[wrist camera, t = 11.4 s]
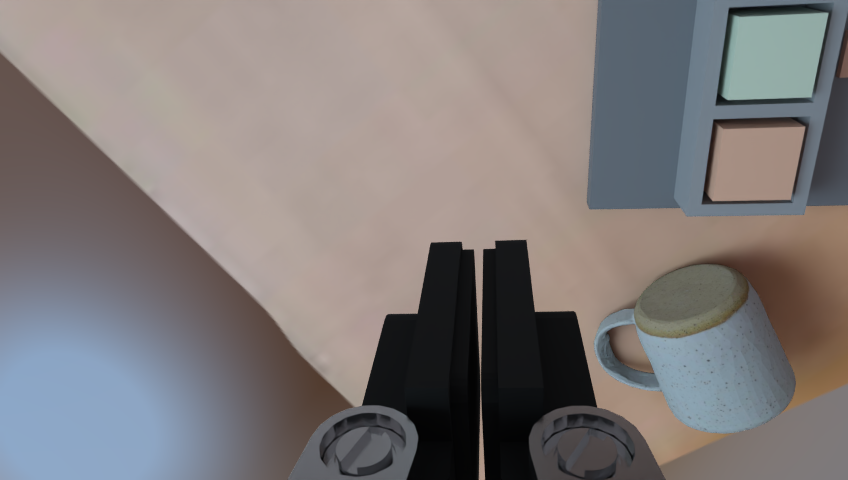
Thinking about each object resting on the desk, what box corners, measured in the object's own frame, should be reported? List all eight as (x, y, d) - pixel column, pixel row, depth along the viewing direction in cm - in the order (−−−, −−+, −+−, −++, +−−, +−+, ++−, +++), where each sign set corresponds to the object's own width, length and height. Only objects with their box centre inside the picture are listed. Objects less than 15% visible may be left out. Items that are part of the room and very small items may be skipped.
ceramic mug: (725, 239, 40) (771, 303, 33) (768, 336, 43) (819, 413, 36) (571, 304, 43) (583, 374, 37) (620, 390, 46) (640, 470, 39)
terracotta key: (705, 114, 35) (723, 129, 33) (781, 112, 35) (805, 126, 32) (696, 181, 37) (712, 201, 34) (768, 180, 37) (790, 199, 34)
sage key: (719, 10, 33) (739, 16, 30) (800, 6, 33) (828, 12, 30) (709, 87, 35) (727, 100, 32) (786, 84, 34) (811, 97, 32)
